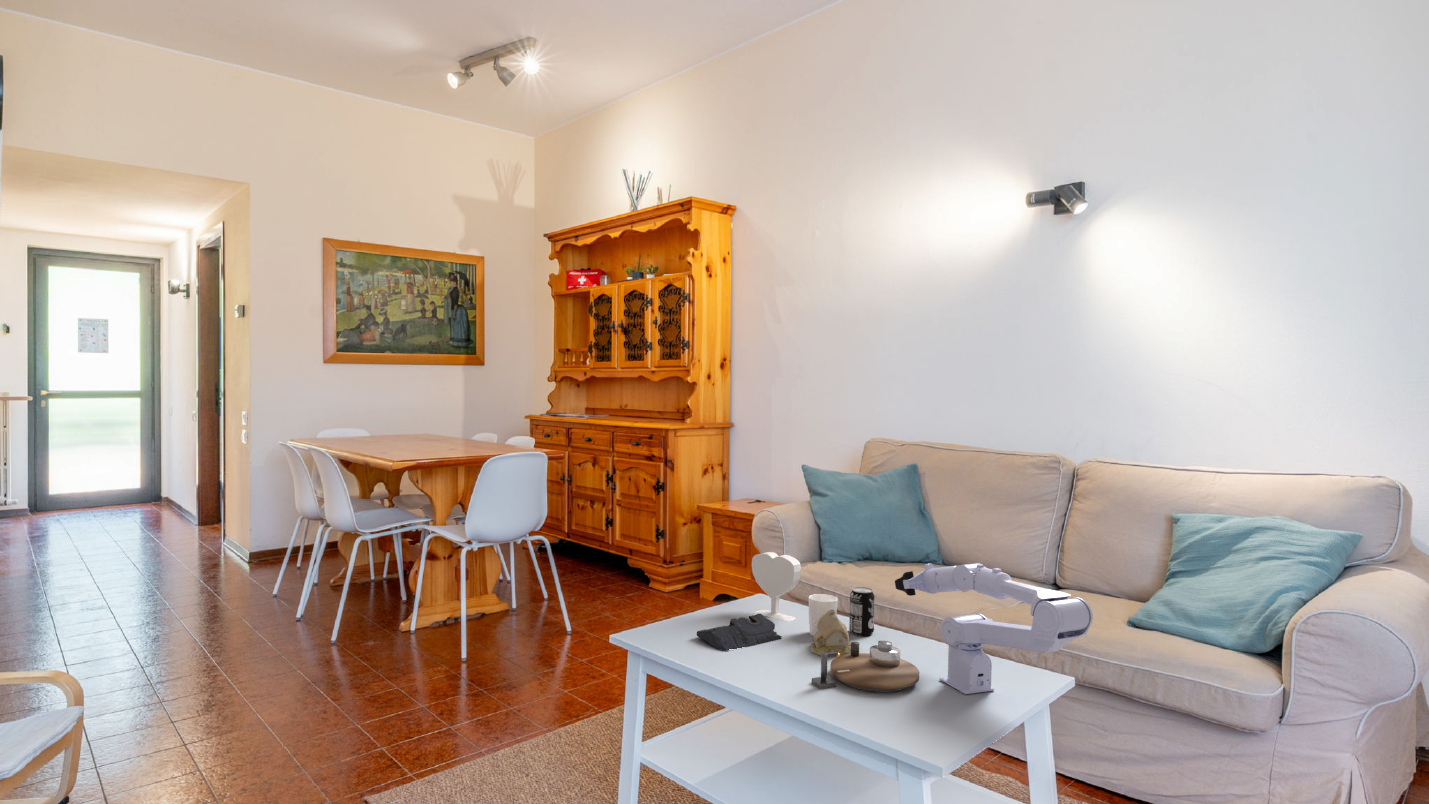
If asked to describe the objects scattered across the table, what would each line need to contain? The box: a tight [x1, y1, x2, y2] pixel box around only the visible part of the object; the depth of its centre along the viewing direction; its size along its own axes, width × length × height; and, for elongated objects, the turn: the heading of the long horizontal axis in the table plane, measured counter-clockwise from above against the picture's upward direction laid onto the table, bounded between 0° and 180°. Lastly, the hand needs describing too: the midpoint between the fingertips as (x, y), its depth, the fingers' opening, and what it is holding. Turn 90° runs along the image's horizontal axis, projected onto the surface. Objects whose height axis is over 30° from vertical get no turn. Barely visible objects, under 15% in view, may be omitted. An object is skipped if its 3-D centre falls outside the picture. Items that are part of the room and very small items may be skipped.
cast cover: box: [869, 640, 901, 668], centre depth 183 cm, size 7×7×5 cm
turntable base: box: [841, 681, 906, 693], centre depth 179 cm, size 16×16×1 cm
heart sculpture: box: [751, 551, 802, 622], centre depth 228 cm, size 16×5×18 cm, turn 49°
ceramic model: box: [810, 610, 851, 656], centre depth 200 cm, size 14×11×10 cm
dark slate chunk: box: [696, 614, 783, 652], centre depth 207 cm, size 15×22×5 cm
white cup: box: [808, 593, 838, 637], centre depth 211 cm, size 8×8×10 cm
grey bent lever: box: [811, 652, 840, 690], centre depth 175 cm, size 4×6×7 cm, turn 110°
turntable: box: [829, 641, 920, 690], centre depth 179 cm, size 20×20×4 cm
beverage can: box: [848, 586, 876, 637], centre depth 213 cm, size 7×7×12 cm
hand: (908, 582), depth 195 cm, fingers open, 7 cm apart
